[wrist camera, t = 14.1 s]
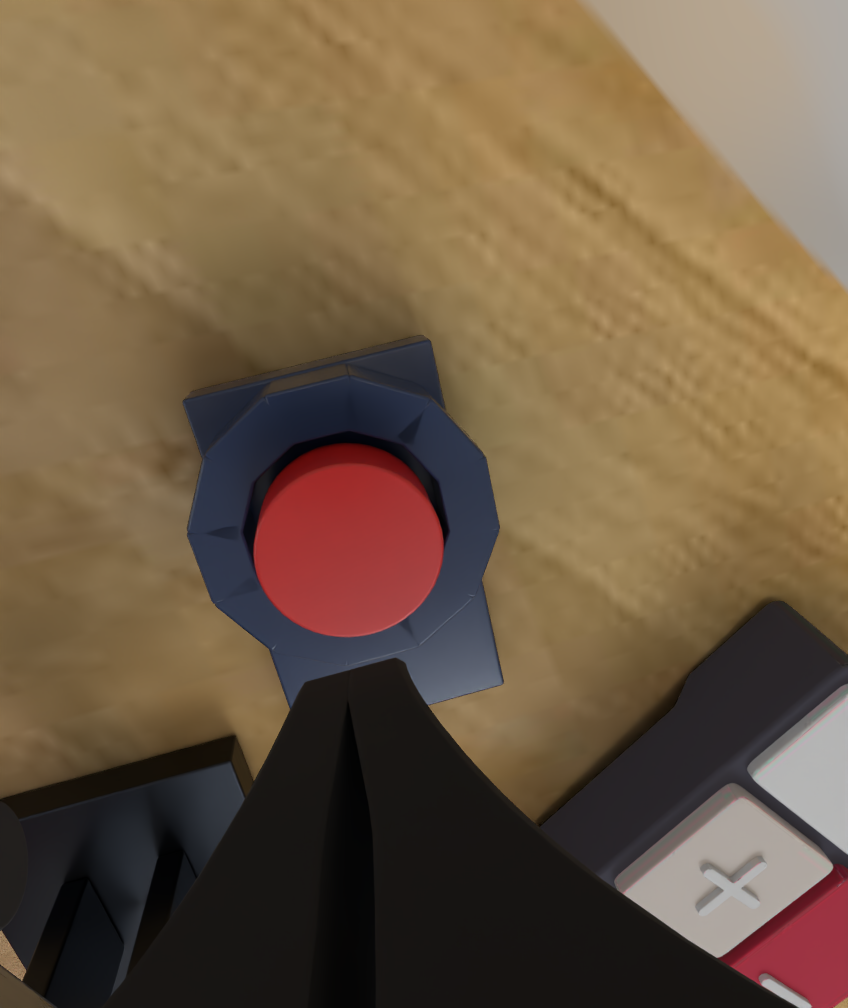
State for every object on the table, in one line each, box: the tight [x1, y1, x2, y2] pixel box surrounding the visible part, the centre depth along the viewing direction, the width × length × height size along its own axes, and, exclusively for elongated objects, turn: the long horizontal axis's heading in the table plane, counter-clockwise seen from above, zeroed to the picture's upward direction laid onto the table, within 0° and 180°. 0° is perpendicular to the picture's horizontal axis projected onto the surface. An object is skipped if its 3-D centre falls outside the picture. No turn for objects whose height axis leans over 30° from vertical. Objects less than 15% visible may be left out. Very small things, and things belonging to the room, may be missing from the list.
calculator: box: [539, 601, 848, 1008], centre depth 23 cm, size 11×4×15 cm
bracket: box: [0, 736, 254, 1008], centre depth 18 cm, size 8×8×8 cm
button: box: [253, 443, 444, 637], centre depth 16 cm, size 4×4×2 cm
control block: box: [183, 335, 504, 709], centre depth 18 cm, size 10×7×3 cm
